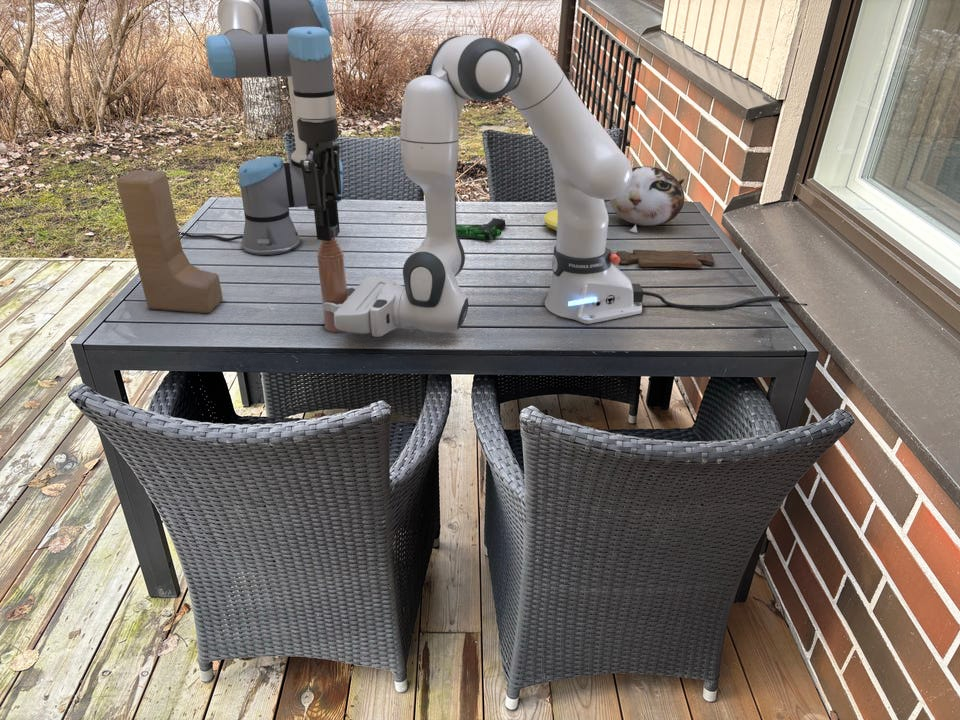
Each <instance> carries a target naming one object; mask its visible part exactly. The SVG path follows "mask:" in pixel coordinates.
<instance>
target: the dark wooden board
mask: <svg viewBox="0 0 960 720" xmlns="http://www.w3.org/2000/svg"><path fill="white" fill-rule="evenodd" d="M615 254H617V256H618V257H619V258H620V262H619V263H618V264H620V265H631V264H634V263H637V264H638V267H640V268H654V267H657V268H659V267H660V268H661V267H662V268H663V267H667V268H687V269H688V268H689V269H700V268H702V267H703V265H707V266H714V264H715V260H714V257H713V255H712V253H710V252H709V253H708V252H707V253H701V254H694V250H657V249H655V250H654V249H653V250H652V249H632V252H628V251H626V250H617V251H616V252H615Z"/></svg>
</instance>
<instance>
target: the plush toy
mask: <svg viewBox="0 0 960 720" xmlns="http://www.w3.org/2000/svg"><path fill="white" fill-rule="evenodd" d="M684 181H685V179H684V178H682V179H680V180H678V179H677V178H676V177H675V176H674V175H673V174H671V173H670V172H668V171H666V170H664V169H662V168H659V167H656V166H650V165H649V166H647V165H645V166H642V165H641V166H635V167H632V179H631V182H630V184H629V186H628V188H627V189H626V190H625V192H624V193H623V194H621V195H620V196H619V197H617V198H615V199H611V200H609V203H610V206H611V208H612V210H613V211H614V212H615V213H616V214H617V216H618V217H619V218H621V219H623V220H624V221H625V222H628V223H630V224H633V227H632V228H630V229H629V230H628V231H629V232H632V233H639V232H638V229H637V226H641V227H657V226H661V225H664V224H667V223H668V222H670V221H672V220H674V219H675V218H676V217H677V216H678V215H679V214H680V213H681V211H682V210H683V206H684V204H685V192H684V188H683V186H682V184H684Z"/></svg>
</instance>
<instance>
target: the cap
mask: <svg viewBox="0 0 960 720" xmlns="http://www.w3.org/2000/svg"><path fill="white" fill-rule="evenodd" d="M329 223H330V233H331V238H335V239H336V237H338V236H339V233H338V226H337V223H335V222H329Z"/></svg>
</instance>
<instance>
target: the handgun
mask: <svg viewBox="0 0 960 720" xmlns="http://www.w3.org/2000/svg"><path fill="white" fill-rule="evenodd" d="M505 228H506V220H505V219H503V218H497V217H492V219H491V220H490V221H489V222H488V223H483V224H482V225H479V224H472V225H459V224H457V233H458V236H459V237H462V238H469V239H470V238H471V239H474V240H479V241H484V242H491V241H492V240H494V239H495V238H497V237H500V236H502V230H504V229H505Z"/></svg>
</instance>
